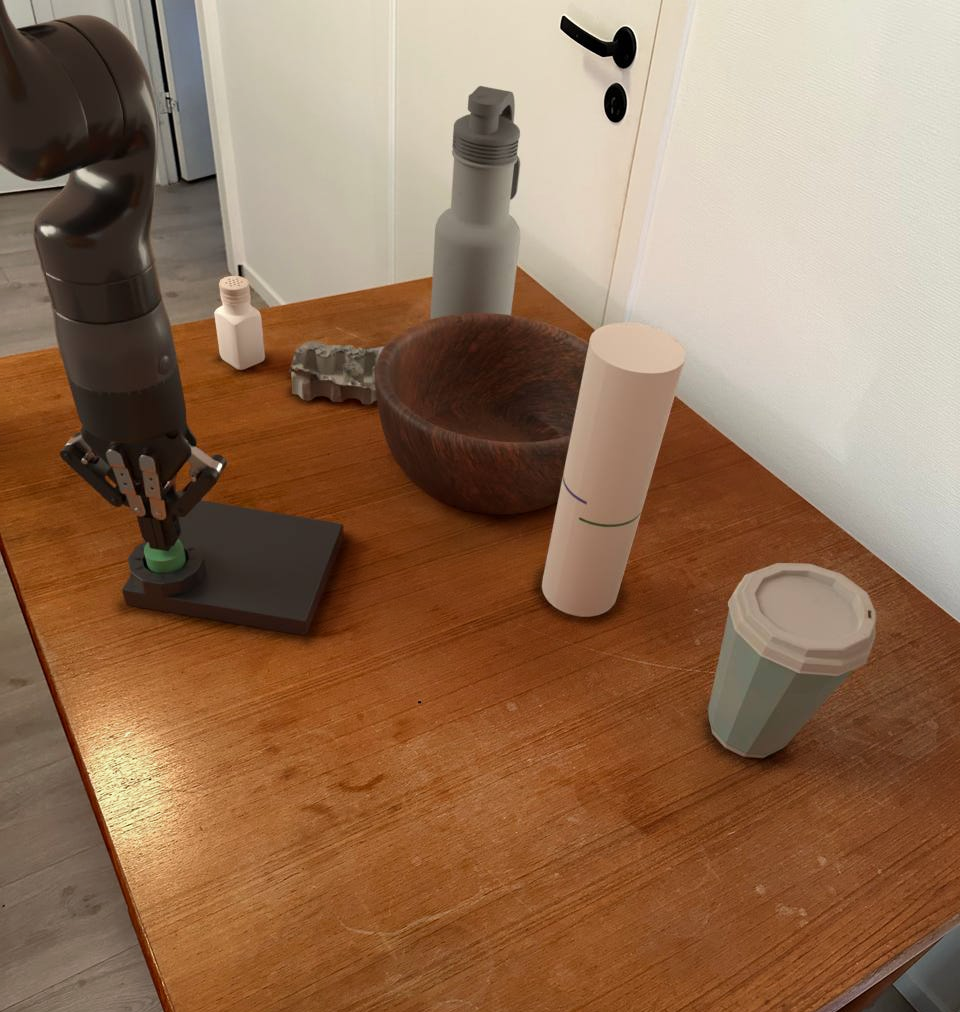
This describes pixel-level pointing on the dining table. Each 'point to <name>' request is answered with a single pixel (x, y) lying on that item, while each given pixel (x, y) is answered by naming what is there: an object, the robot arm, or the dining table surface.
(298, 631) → the dark grey flat block
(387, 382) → the wooden bowl
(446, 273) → the water bottle
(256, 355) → the pepper shaker
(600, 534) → the cylindrical container
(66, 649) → the dining table surface
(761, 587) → the disposable coffee cup
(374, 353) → the egg carton
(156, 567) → the button
